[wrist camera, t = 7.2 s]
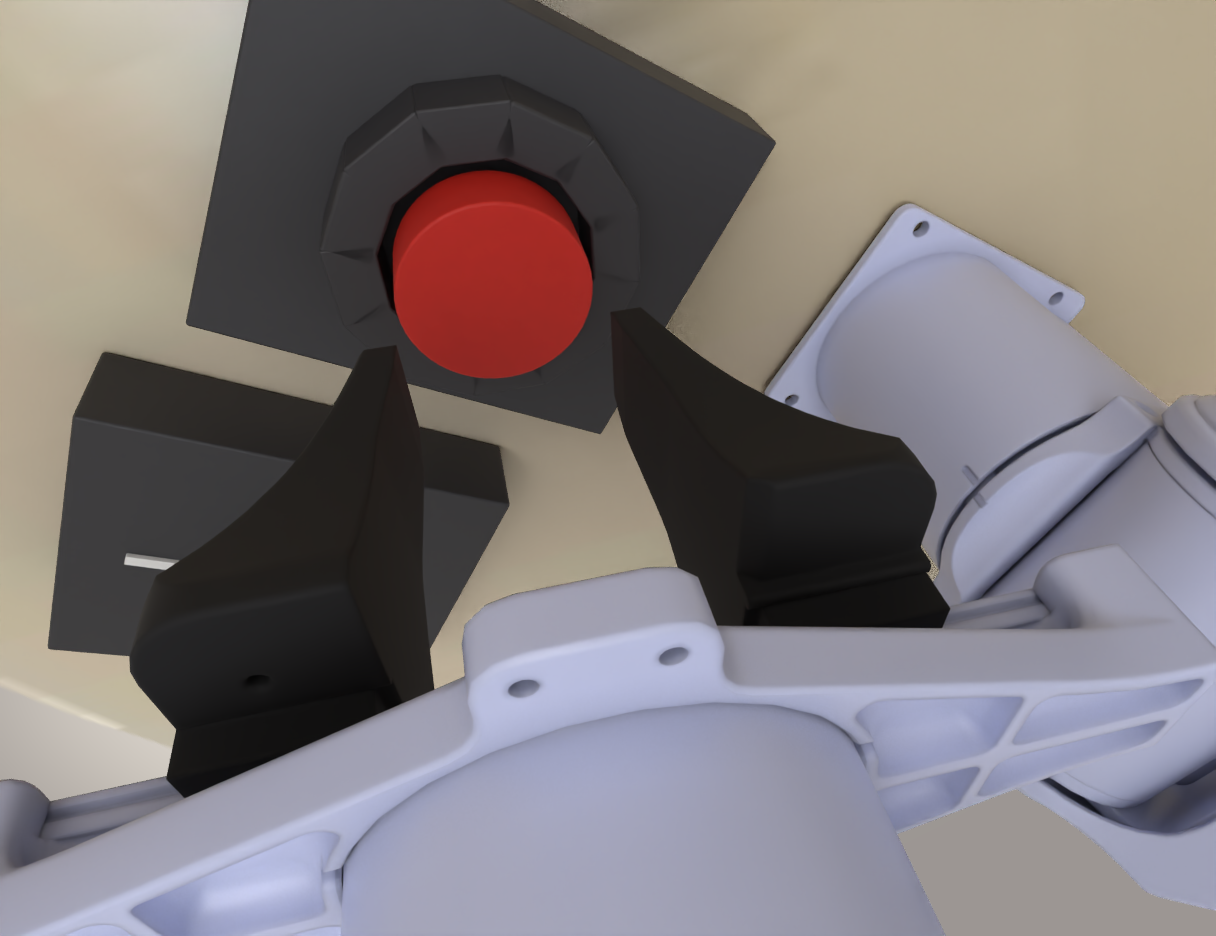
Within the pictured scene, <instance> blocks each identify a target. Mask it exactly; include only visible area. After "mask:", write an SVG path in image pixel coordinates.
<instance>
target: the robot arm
mask: <svg viewBox="0 0 1216 936" xmlns="http://www.w3.org/2000/svg"><path fill="white" fill-rule="evenodd" d="M922 221H923V223H922V225H921V227H920V228H919V229H918V230H916V231H914V232H913V230H914V228H915V226H916V225H917V224H918V223H920V222H922ZM1052 295H1053V296H1052ZM1051 296H1052V297H1051ZM1084 303H1085V297H1084V296H1083V295H1082V294H1080V293H1079V292H1078V291H1076V290H1074V289H1073V288H1071V287H1069V286H1067V285H1065V284H1063V283H1061V282H1060V281H1058V280H1056V279H1054V278H1052V277H1050V276H1048V275H1046V274H1045V273H1043V272H1041V271H1039V270H1037V269H1035V268H1033V267H1031V266H1030V265H1028V264H1026V263H1024V262H1022V261H1020V260H1018V259H1016V258H1015V257H1013V256H1011V255H1009V254H1007V253H1005V252H1003V251H1001V250H1000V249H998V248H996V247H994V246H992V245H990V244H988V243H986V242H985V241H983V240H981V239H979V238H977V237H975V236H973V235H971V234H970V233H968V232H966V231H964V230H962V229H960V228H958V227H956V226H955V225H953V224H951V223H949V222H947V221H945V220H943V219H942V218H940V217H938V216H936V215H934V214H932V213H930V212H928V211H927V210H925V209H923V208H921V207H919V206H917V205H915V204H911V203H909V204H904V205H903V206H901V207H899V208H898V209H897V210H896V211H895V212H894V213H893V214H892V216H891V217H890V219H889V220H888V221H887V223H886V224H885V225H884V227H883V228H882V230H881V231H880V232H879V234H878V235H877V236H876V238H875V239H874V241H873V242H872V243H871V245H870V246H869V247H868V249H867V250H866V252H865V253H864V254H863V256H862V257H861V258H860V260H859V261H858V263H857V264H856V265H855V267H854V268H853V269H852V271H851V272H850V274H849V275H848V276H847V278H846V279H845V280H844V282H843V283H842V285H841V286H840V287H839V289H838V290H837V291H836V293H835V294H834V296H833V297H832V298H831V300H830V301H829V302H828V304H827V305H826V307H825V308H824V309H823V311H822V312H821V313H820V315H819V316H818V318H817V319H816V320H815V322H814V323H813V324H812V326H811V327H810V329H809V330H808V331H807V333H806V334H805V335H804V337H803V338H802V340H801V341H800V342H799V344H798V345H797V347H796V348H795V349H794V351H793V352H792V353H791V355H790V356H789V358H788V359H787V360H786V362H785V363H784V364H783V366H782V367H781V369H780V370H779V371H778V373H777V374H776V375H775V377H774V378H773V380H772V381H771V382H770V384H769V385H768V386H767V388H766V390H765V392H764V394H762V393H761V392H759V391H757V390H755V389H753V388H751V387H749V386H747V385H745V384H743V383H742V382H740V381H738V380H736V379H735V378H733V377H731V376H730V375H728V374H727V373H725V372H724V371H722V370H721V369H719V368H718V367H716V366H714V365H713V364H711V363H710V362H709V361H707V360H706V359H704V358H703V357H701V356H700V355H699V354H697V353H696V352H695V351H693V350H692V349H691V348H690V347H688V346H687V345H686V344H684V343H683V342H682V341H681V340H679V339H678V338H677V337H676V336H675V335H673V334H672V333H671V332H670V331H669V330H667V329H666V328H665V327H664V326H663V325H661V324H660V323H659V322H658V321H657V320H656V319H654V318H653V317H652V316H651V315H650V314H648V313H647V312H646V311H645V310H644V309H642V308H641V307H638V308H632V309H626V310H619V311H613V312H610V315H611V337H612V358H613V380H614V396H615V400H616V403H617V407H618V411H619V414H620V418H621V421H622V425H623V428H624V432H625V435H626V438H627V440H628V442H629V445H630V447H631V449H632V452H633V454H634V456H635V458H636V461H637V463H638V465H639V468H640V470H641V472H642V474H643V477H644V479H645V481H646V484H647V486H648V488H649V490H650V493H651V495H652V497H653V499H654V502H655V504H656V506H657V509H658V511H659V513H660V515H661V518H662V520H663V523H664V526H665V528H666V531H667V534H668V537H669V540H670V543H671V547H672V550H673V553H674V556H675V560H676V563H677V566H678V568H677V567H646V568H641V569H636V570H631V571H626V572H621V573H616V574H611V575H606V576H601V577H596V578H591V579H586V580H581V581H576V582H571V583H566V584H561V585H556V586H551V587H546V588H541V589H536V590H531V591H526V592H521V593H516V594H512V595H510V596H507V597H505V598H502V599H499V600H497V601H494V602H491V603H489V604H487V605H485V606H484V607H483V608H482V609H481V610H480V611H479V612H478V613H476V614H475V615H474V616H473V617H472V618H471V619H470V620H469V621H468V622H467V623H466V624H465V627H464V634H463V640H462V649H463V660H464V671H465V677H462V678H460V679H458V680H455V681H453V682H451V683H448V684H446V685H444V686H442V687H439V688H437V689H435V690H434V682H433V674H432V665H431V656H430V646H429V637H428V627H427V617H426V607H425V596H424V586H423V562H422V561H423V515H424V464H423V455H422V446H421V438H420V429H419V425H418V421H417V418H416V414H415V410H414V407H413V403H412V400H411V396H410V392H409V389H408V385H407V381H406V378H405V374H404V371H403V367H402V363H401V360H400V356H399V352H398V349H397V345H393V346H386V347H380V348H373V349H367V350H363V352H362V353H361V354H360V356H359V358H358V360H357V362H356V364H355V366H354V368H353V370H352V372H351V374H350V376H349V378H348V380H347V382H346V384H345V386H344V387H343V389H342V391H341V393H340V395H339V397H338V398H337V400H336V402H335V403H334V405H333V407H332V409H331V410H330V412H329V414H328V415H327V417H326V419H325V420H324V422H323V423H322V425H321V426H320V428H319V429H318V431H317V432H316V433H315V435H314V436H313V438H312V439H311V441H310V442H309V444H308V445H307V447H306V448H305V449H304V451H303V452H302V453H301V454H300V456H299V457H298V458H297V460H296V461H295V462H294V463H293V465H292V466H291V467H290V468H289V469H288V470H287V472H286V473H285V474H284V475H283V476H282V477H281V478H280V479H279V480H278V481H277V482H276V483H275V484H274V485H273V486H272V487H271V488H270V489H269V490H268V491H267V492H266V493H265V494H264V495H263V496H262V497H261V498H260V499H259V500H258V501H257V502H256V503H255V504H254V505H252V506H251V507H250V508H249V509H248V510H247V511H246V512H245V513H244V514H242V515H241V516H240V517H239V518H238V519H236V520H235V521H234V522H233V523H232V524H230V525H229V526H228V527H227V528H225V529H224V530H223V531H221V532H220V533H219V534H217V535H216V536H215V537H214V538H212V539H211V540H210V541H208V542H207V543H205V544H204V545H203V546H201V547H200V548H198V549H197V550H195V551H194V552H192V553H191V554H189V555H188V556H186V557H185V558H183V559H182V560H180V561H178V562H177V563H175V564H174V565H172V566H171V567H169V568H168V569H166V570H165V571H163V572H161V573H160V574H158V575H156V577H155V579H154V582H153V585H152V587H151V589H150V592H149V594H148V596H147V599H146V601H145V604H144V607H143V610H142V613H141V617H140V620H139V624H138V627H137V631H136V635H135V638H134V642H133V646H132V649H131V653H130V672H131V674H132V676H133V677H134V679H135V681H136V683H137V684H138V686H139V687H140V688H141V689H142V690H143V692H144V693H145V694H146V695H147V696H148V697H149V699H150V700H151V701H152V702H153V703H154V704H155V705H156V707H157V708H158V709H159V710H160V711H161V712H162V713H163V715H164V716H165V717H166V718H167V719H168V720H169V722H170V723H171V724H172V725H173V726H174V727H175V728H176V734H175V739H174V744H173V748H172V753H171V759H170V763H169V768H168V773H167V776H165V777H160V778H156V779H151V780H146V781H142V782H137V783H133V784H129V785H123V786H119V787H114V788H110V789H105V790H100V791H96V792H91V793H87V794H82V795H77V796H73V797H68V798H64V799H59V800H54V801H49V799H48V798H47V797H46V796H45V795H44V794H43V793H42V792H41V791H40V790H39V789H38V788H36V787H35V786H34V785H32V784H30V783H28V782H25V781H21V780H14V779H7V780H0V936H946V935H945V933H944V931H943V928H942V927H941V924H940V922H939V920H938V918H937V916H936V914H935V912H934V910H933V908H932V906H931V904H930V901H929V899H928V898H927V895H926V893H925V891H924V889H923V887H922V885H921V883H920V881H919V879H918V877H917V874H916V873H915V870H914V868H913V866H912V864H911V862H910V860H909V858H908V856H907V854H906V852H905V850H904V847H903V845H902V843H901V841H900V839H899V837H898V835H897V834H899V833H902V832H904V831H907V830H909V829H912V828H915V827H917V826H920V825H923V824H925V823H928V822H931V821H933V820H936V819H938V818H941V817H944V816H946V815H949V814H952V813H954V812H957V811H959V810H962V809H965V808H967V807H970V806H973V805H975V804H978V803H980V802H983V801H986V800H988V799H991V798H994V797H996V796H999V795H1001V794H1004V793H1007V792H1009V791H1012V790H1015V789H1017V790H1018V791H1020V792H1021V793H1022V794H1024V795H1026V796H1027V797H1029V798H1030V799H1032V800H1034V801H1036V802H1038V803H1040V804H1041V805H1044V806H1045V807H1047V808H1048V809H1050V810H1051V811H1053V812H1054V813H1056V814H1058V815H1059V816H1060V817H1062V818H1063V819H1065V820H1066V821H1067V822H1069V823H1070V824H1072V825H1073V826H1074V827H1076V828H1077V829H1078V830H1079V831H1081V832H1082V833H1083V834H1085V835H1086V836H1087V837H1088V838H1089V839H1091V840H1092V841H1093V842H1094V843H1095V844H1097V845H1098V846H1099V847H1100V848H1101V849H1102V850H1103V851H1105V852H1106V853H1107V854H1108V855H1109V856H1110V857H1111V858H1112V859H1114V861H1116V862H1117V863H1118V864H1119V865H1120V866H1121V867H1122V868H1123V869H1124V870H1125V871H1126V872H1127V873H1128V875H1129V876H1130V877H1131V878H1132V879H1133V880H1134V881H1135V882H1136V883H1137V884H1139V886H1140V887H1141V888H1142V889H1143V890H1144V891H1146V892H1148V893H1150V894H1152V895H1155V896H1157V897H1160V898H1164V899H1169V900H1172V901H1176V902H1181V903H1185V904H1189V905H1194V906H1197V907H1202V908H1206V909H1210V910H1215V911H1216V395H1206V396H1199V395H1184V396H1181V397H1179V398H1178V399H1177V400H1176V401H1175V402H1174V403H1173V404H1172V405H1171V406H1170V407H1168V406H1167V405H1166V404H1165V403H1163V402H1162V401H1161V400H1160V399H1159V398H1157V397H1156V396H1155V395H1154V394H1153V393H1151V392H1150V391H1149V390H1148V389H1147V388H1145V387H1144V386H1143V385H1142V384H1140V383H1139V382H1138V381H1137V380H1136V379H1134V378H1133V377H1132V376H1131V375H1130V374H1128V373H1127V372H1126V371H1125V370H1123V369H1122V368H1121V367H1120V366H1119V365H1117V364H1116V363H1115V362H1114V361H1113V360H1111V359H1110V358H1109V357H1108V356H1107V355H1105V354H1104V353H1103V352H1102V351H1100V350H1099V349H1098V348H1097V347H1096V346H1094V345H1093V344H1092V343H1091V342H1090V341H1088V340H1087V339H1086V338H1085V337H1084V336H1082V335H1081V334H1080V333H1079V332H1077V331H1076V330H1075V329H1074V328H1073V327H1071V326H1070V325H1069V324H1068V323H1069V322H1070V321H1071V320H1072V319H1073V318H1074V317H1075V316H1076V315H1077V314H1078V313H1079V312H1080V310H1081V309H1082V308H1083V306H1084ZM790 395H793V396H792V397H791V398H789V399H787V400H785V399H786V398H787V397H788V396H790ZM921 545H922V546H923V548H924V549H925V550H926V552H927V553H928V555H929V556H930V558H931V559H932V561H933V562H934V564H935V565H936V566H937V568H938V569H939V572H938V575H937V576H936V578H935V579H934V581H933V582H932V580H931V579H930V577H929V576H928V574H927V573H926V572H929V571H930V569H931V563H930V560H929V559H928V558H927V556H926V555H925V553H924V552H923V550H922V549H921V547H920V546H921Z"/></svg>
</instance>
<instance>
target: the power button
mask: <svg viewBox="0 0 1216 936" xmlns="http://www.w3.org/2000/svg"><path fill="white" fill-rule="evenodd" d="M393 283H394V302H395V308H396V312H397V315H398V318H399V321H400V323H401V325H402V327H403V329H404V331H405V333H406V334H407V336H408V337H409V339H410V340H411V342H412V343H413V344H414V345H415V346H416V347H417V348H418V349H419V350H420V351H421V352H422V353H423V354H424V355H425V356H427V357H428V358H429V359H430V360H432V361H434V362H435V363H437V364H438V365H440V366H442V367H444V368H446V369H448V370H450V371H453V372H456V373H459V374H462V375H466V376H471V377H478V378H505V377H512V376H516V375H521V374H524V373H527V372H530V371H532V370H535V369H537V368H539V367H541V366H543V365H545V364H546V363H548V362H550V361H551V360H553V359H554V358H556V357H557V356H558V355H560V354H561V353H562V352H563V351H564V350H565V349H566V348H567V347H568V346H569V345H570V344H571V343H572V342H573V340H574V339H575V338H576V337H577V335H578V333H579V332H580V330H581V329H582V327H583V325H584V323H585V320H586V318H587V316H588V313H589V309H590V306H591V301H592V294H593V281H592V273H591V269H590V265H589V262H588V259H587V256H586V254H585V251H584V249H583V247H582V244H581V242H580V239H579V237H578V235H577V232H576V230H575V227H574V225H573V223H572V221H571V219H570V217H569V215H568V214H567V212H566V210H565V209H564V207H563V206H562V205H561V204H560V203H559V202H558V200H557V199H556V198H555V197H554V196H553V195H551V194H550V193H549V192H548V191H547V190H545V189H544V188H542V187H541V186H540V185H538V184H537V183H535V182H532V181H530V180H528V179H526V178H524V177H521V176H518V175H515V174H512V173H507V172H502V171H490V170H483V171H472V172H467V173H461V174H458V175H455V176H452V177H449V178H447V179H445V180H443V181H441V182H439V183H437V184H435V185H434V186H432V187H431V188H429V189H428V190H426V191H425V192H424V193H423V194H422V195H421V196H419V197H418V198H417V199H416V200H415V202H414V203H413V204H412V205H411V206H410V207H409V209H408V210H407V212H406V213H405V215H404V217H403V218H402V220H401V222H400V225H399V227H398V229H397V232H396V236H395V240H394V246H393Z"/></svg>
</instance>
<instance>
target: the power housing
mask: <svg viewBox="0 0 1216 936" xmlns="http://www.w3.org/2000/svg"><path fill="white" fill-rule="evenodd" d="M775 144H776V142H775V141H774V140H773V139H772V138H771V137H770V136H769V135H768V134H767V133H766V132H765V131H764V130H763V129H762V128H761V127H760V126H759V125H758V124H757V123H756V122H755V121H754V120H753V119H752V118H751V117H750V116H749V115H748V114H747V113H745V112H743V111H741V110H739V109H737V108H736V107H734V106H732V105H730V104H728V103H726V102H724V101H722V100H721V99H719V98H717V97H715V96H713V95H711V94H709V93H707V92H706V91H704V90H702V89H700V88H698V87H696V86H694V85H693V84H691V83H689V82H687V81H685V80H683V79H681V78H679V77H678V76H676V75H674V74H672V73H670V72H668V71H666V70H664V69H663V68H661V67H659V66H657V65H655V64H653V63H651V62H650V61H648V60H646V59H644V58H642V57H640V56H638V55H636V54H635V53H633V52H631V51H629V50H627V49H625V48H623V47H621V46H620V45H618V44H616V43H614V42H612V41H610V40H608V39H606V38H605V37H603V36H601V35H599V34H597V33H595V32H593V31H592V30H590V29H588V28H586V27H584V26H582V25H580V24H578V23H577V22H575V21H573V20H571V19H569V18H567V17H565V16H563V15H562V14H560V13H558V12H556V11H554V10H552V9H550V8H549V7H547V6H545V5H543V4H541V3H539V2H537V1H535V0H249V3H248V8H247V13H246V18H245V23H244V29H243V34H242V39H241V44H240V49H239V54H238V59H237V64H236V69H235V74H234V80H233V85H232V90H231V95H230V100H229V105H228V110H227V115H226V120H225V126H224V131H223V136H222V141H221V146H220V151H219V156H218V161H217V166H216V171H215V177H214V182H213V187H212V192H211V197H210V202H209V207H208V212H207V217H206V222H205V228H204V233H203V238H202V243H201V248H200V253H199V258H198V263H197V268H196V274H195V279H194V284H193V289H192V294H191V299H190V304H189V309H188V314H187V319H186V324H187V325H188V326H192V327H196V328H200V329H204V330H207V331H211V332H215V333H219V334H223V335H226V336H230V337H234V338H238V339H241V340H245V341H249V342H253V343H257V344H260V345H264V346H268V347H272V348H276V349H279V350H283V351H287V352H291V353H295V354H298V355H302V356H306V357H310V358H313V359H317V360H321V361H325V362H329V363H332V364H336V365H340V366H344V367H348V368H351V369H353V368H354V366H355V364H356V362H357V360H358V358H359V356H360V354H361V353H362V352H363V350H367V349H373V348H380V347H386V346H393V345H397V349H398V352H399V356H400V360H401V363H402V367H403V371H404V374H405V378H406V381H407V383H408V384H412V385H416V386H420V387H423V388H427V389H431V390H435V391H438V392H442V393H446V394H450V395H454V396H457V397H461V398H465V399H469V400H473V401H476V402H480V403H484V404H488V405H491V406H495V407H499V408H503V409H507V410H510V411H514V412H518V413H522V414H526V415H529V416H533V417H537V418H541V419H544V420H548V421H552V422H556V423H560V424H563V425H567V426H571V427H575V428H579V429H582V430H586V431H590V432H594V433H598V434H601V433H602V431H603V430H604V428H605V426H606V425H607V423H608V421H609V420H610V418H611V416H612V415H613V413H614V411H615V410H616V408H617V403H616V400H615V396H614V380H613V358H612V337H611V315H610V312H613V311H619V310H626V309H632V308H638V307H641V308H642V309H644V310H645V311H646V312H647V313H648V314H650V315H651V316H652V317H653V318H654V319H656V320H657V321H658V322H659V323H660V324H661V325H663V326H664V327H666V325H667V323H668V322H669V320H670V318H671V317H672V315H673V313H674V312H675V310H676V309H677V307H678V305H679V304H680V302H681V300H682V299H683V297H684V295H685V294H686V292H687V290H688V289H689V287H690V285H691V284H692V282H693V280H694V279H695V277H696V275H697V274H698V272H699V270H700V269H701V267H702V265H703V264H704V262H705V260H706V259H707V257H708V255H709V254H710V252H711V251H712V249H713V247H714V246H715V244H716V242H717V241H718V239H719V237H720V236H721V234H722V232H723V231H724V229H725V227H726V226H727V224H728V222H729V221H730V219H731V217H732V216H733V214H734V212H735V211H736V209H737V207H738V206H739V204H740V202H741V201H742V199H743V197H744V196H745V194H746V193H747V191H748V189H749V188H750V186H751V184H752V183H753V181H754V179H755V178H756V176H757V174H758V173H759V171H760V169H761V168H762V166H763V164H764V163H765V161H766V159H767V158H768V156H769V154H770V153H771V151H772V149H773V148H774V146H775ZM483 170H490V171H502V172H507V173H512V174H515V175H518V176H521V177H524V178H526V179H528V180H530V181H532V182H535V183H537V184H538V185H540V186H541V187H542V188H544V189H545V190H547V191H548V192H549V193H550V194H551V195H553V196H554V197H555V198H556V199H557V200H558V202H559V203H560V204H561V205H562V206H563V207H564V209H565V210H566V212H567V214H568V215H569V217H570V219H571V221H572V223H573V225H574V227H575V230H576V232H577V235H578V237H579V239H580V242H581V244H582V247H583V249H584V251H585V254H586V256H587V259H588V262H589V265H590V269H591V273H592V281H593V294H592V301H591V306H590V309H589V313H588V316H587V318H586V320H585V323H584V325H583V327H582V329H581V330H580V332H579V333H578V335H577V337H576V338H575V339H574V340H573V342H572V343H571V344H570V345H569V346H568V347H567V348H566V349H565V350H564V351H563V352H562V353H561V354H560V355H558V356H557V357H556V358H554V359H553V360H551V361H550V362H548V363H546V364H545V365H543V366H541V367H539V368H537V369H535V370H532V371H530V372H527V373H524V374H521V375H516V376H512V377H505V378H478V377H471V376H466V375H462V374H459V373H456V372H453V371H450V370H448V369H446V368H444V367H442V366H440V365H438V364H437V363H435V362H434V361H432V360H430V359H429V358H428V357H427V356H425V355H424V354H423V353H422V352H421V351H420V350H419V349H418V348H417V347H416V346H415V345H414V344H413V343H412V342H411V340H410V339H409V337H408V336H407V334H406V333H405V331H404V329H403V327H402V325H401V323H400V321H399V318H398V315H397V312H396V308H395V302H394V283H393V246H394V240H395V236H396V232H397V229H398V227H399V225H400V222H401V220H402V218H403V217H404V215H405V213H406V212H407V210H408V209H409V207H410V206H411V205H412V204H413V203H414V202H415V200H416V199H417V198H418V197H419V196H421V195H422V194H423V193H424V192H425V191H426V190H428V189H429V188H431V187H432V186H434V185H435V184H437V183H439V182H441V181H443V180H445V179H447V178H449V177H452V176H455V175H458V174H461V173H467V172H472V171H483Z"/></svg>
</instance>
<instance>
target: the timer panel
mask: <svg viewBox="0 0 1216 936" xmlns="http://www.w3.org/2000/svg"><path fill="white" fill-rule="evenodd" d="M331 409H332V406H327V405H323V404H319V403H315V402H311V401H306V400H302V399H298V398H294V397H290V396H286V395H281V394H277V393H273V392H269V391H265V390H260V389H256V388H252V387H248V386H244V385H240V384H235V383H231V382H227V381H223V380H219V379H214V378H210V377H206V376H202V375H198V374H194V373H189V372H185V371H181V370H177V369H173V368H168V367H164V366H160V365H156V364H152V363H148V362H143V361H139V360H135V359H131V358H127V357H122V356H118V355H114V354H110V353H103V354H102V355H101V357H100V359H99V361H98V363H97V365H96V367H95V370H94V372H93V374H92V376H91V378H90V380H89V383H88V385H87V387H86V389H85V391H84V393H83V396H82V398H81V400H80V402H79V404H78V406H77V409H76V411H75V413H74V415H73V419H72V428H71V437H70V447H69V456H68V465H67V474H66V483H65V492H64V502H63V511H62V520H61V529H60V538H59V547H58V557H57V566H56V575H55V584H54V593H53V602H52V612H51V621H50V630H49V639H48V648H49V649H52V650H64V651H75V652H87V653H98V654H110V655H122V656H130V653H131V649H132V646H133V642H134V638H135V635H136V631H137V627H138V624H139V620H140V617H141V613H142V610H143V607H144V604H145V601H146V599H147V596H148V594H149V592H150V589H151V587H152V585H153V582H154V579H155V577H156V575H158V574H160V573H161V572H163V571H165V570H166V569H168V568H169V567H171V566H172V565H174V564H175V563H177V562H178V561H180V560H182V559H183V558H185V557H186V556H188V555H189V554H191V553H192V552H194V551H195V550H197V549H198V548H200V547H201V546H203V545H204V544H205V543H207V542H208V541H210V540H211V539H212V538H214V537H215V536H216V535H217V534H219V533H220V532H221V531H223V530H224V529H225V528H227V527H228V526H229V525H230V524H232V523H233V522H234V521H235V520H236V519H238V518H239V517H240V516H241V515H242V514H244V513H245V512H246V511H247V510H248V509H249V508H250V507H251V506H252V505H254V504H255V503H256V502H257V501H258V500H259V499H260V498H261V497H262V496H263V495H264V494H265V493H266V492H267V491H268V490H269V489H270V488H271V487H272V486H273V485H274V484H275V483H276V482H277V481H278V480H279V479H280V478H281V477H282V476H283V475H284V474H285V473H286V472H287V470H288V469H289V468H290V467H291V466H292V465H293V463H294V462H295V461H296V460H297V458H298V457H299V456H300V454H301V453H302V452H303V451H304V449H305V448H306V447H307V445H308V444H309V442H310V441H311V439H312V438H313V436H314V435H315V433H316V432H317V431H318V429H319V428H320V426H321V425H322V423H323V422H324V420H325V419H326V417H327V415H328V414H329V412H330V410H331ZM419 429H420V438H421V446H422V455H423V464H424V515H423V561H422V562H423V586H424V596H425V607H426V617H427V627H428V637H429V646H430V648H431V646H432V644H433V642H434V641H435V639H436V637H437V635H438V633H439V632H440V630H441V628H442V626H443V624H444V623H445V621H446V619H447V617H448V615H449V614H450V612H451V610H452V608H453V606H454V605H455V603H456V601H457V599H458V597H459V596H460V594H461V592H462V590H463V588H464V587H465V585H466V583H467V581H468V579H469V578H470V576H471V574H472V572H473V570H474V569H475V567H476V565H477V563H478V561H479V560H480V558H481V556H482V554H483V552H484V551H485V549H486V547H487V545H488V543H489V542H490V540H491V538H492V536H493V534H494V533H495V531H496V529H497V527H498V525H499V524H500V522H501V520H502V518H503V516H504V514H505V513H506V511H507V509H508V507H509V499H508V493H507V488H506V482H505V476H504V470H503V465H502V459H501V453H500V448H499V447H498V446H495V445H490V444H486V443H482V442H478V441H474V440H469V439H465V438H461V437H457V436H453V435H449V434H444V433H440V432H436V431H432V430H428V429H423V428H419Z"/></svg>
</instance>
